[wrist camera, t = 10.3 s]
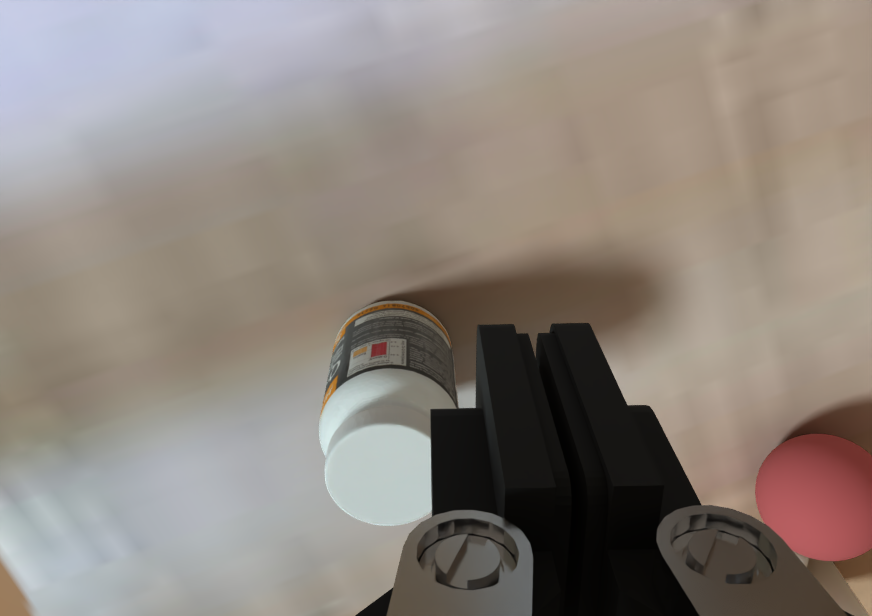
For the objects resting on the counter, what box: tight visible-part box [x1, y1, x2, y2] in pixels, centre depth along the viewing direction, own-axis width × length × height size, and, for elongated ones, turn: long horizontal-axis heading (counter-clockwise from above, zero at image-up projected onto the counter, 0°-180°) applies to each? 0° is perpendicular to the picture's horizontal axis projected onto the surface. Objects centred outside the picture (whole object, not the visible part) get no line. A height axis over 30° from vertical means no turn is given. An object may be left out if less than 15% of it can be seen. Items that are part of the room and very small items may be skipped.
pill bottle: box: [319, 301, 459, 526], centre depth 33 cm, size 6×6×10 cm
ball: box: [755, 434, 872, 561], centre depth 38 cm, size 6×6×6 cm
